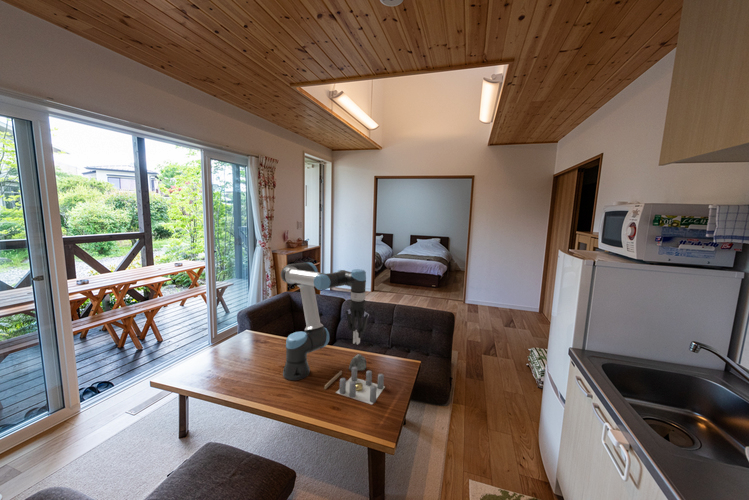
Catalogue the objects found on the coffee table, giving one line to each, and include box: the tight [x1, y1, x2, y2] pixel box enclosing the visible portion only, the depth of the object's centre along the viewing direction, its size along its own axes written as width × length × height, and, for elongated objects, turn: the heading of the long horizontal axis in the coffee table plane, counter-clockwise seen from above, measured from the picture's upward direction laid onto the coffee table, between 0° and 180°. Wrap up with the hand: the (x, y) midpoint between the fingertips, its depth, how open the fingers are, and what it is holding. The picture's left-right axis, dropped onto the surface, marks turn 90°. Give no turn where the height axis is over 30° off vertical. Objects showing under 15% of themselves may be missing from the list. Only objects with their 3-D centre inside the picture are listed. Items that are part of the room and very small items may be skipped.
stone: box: [348, 353, 368, 372], centre depth 174 cm, size 10×10×10 cm
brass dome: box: [356, 383, 363, 391], centre depth 152 cm, size 4×4×2 cm
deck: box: [323, 367, 386, 405], centre depth 153 cm, size 29×17×8 cm, turn 66°
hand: (356, 342), depth 150 cm, fingers closed
